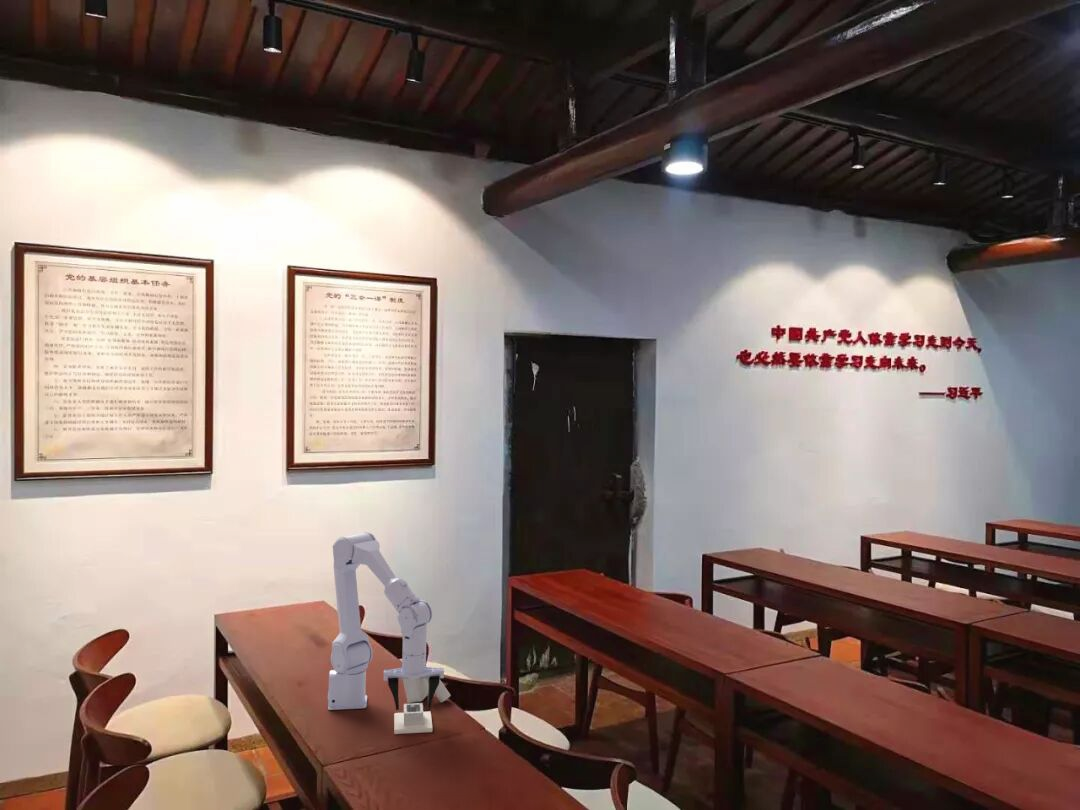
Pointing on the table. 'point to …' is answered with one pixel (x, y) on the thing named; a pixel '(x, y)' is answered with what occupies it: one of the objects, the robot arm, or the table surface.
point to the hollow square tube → (413, 715)
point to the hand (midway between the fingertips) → (413, 707)
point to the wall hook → (423, 690)
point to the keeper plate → (401, 729)
